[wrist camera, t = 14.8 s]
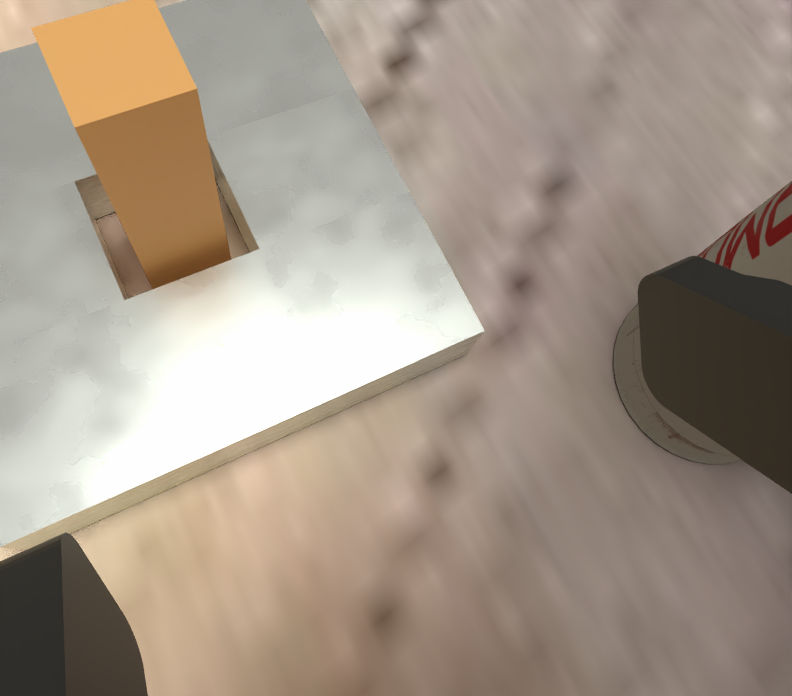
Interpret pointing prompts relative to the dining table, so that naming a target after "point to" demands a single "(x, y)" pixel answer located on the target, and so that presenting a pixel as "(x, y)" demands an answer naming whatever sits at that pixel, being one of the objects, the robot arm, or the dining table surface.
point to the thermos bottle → (737, 250)
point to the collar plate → (205, 279)
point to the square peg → (141, 133)
